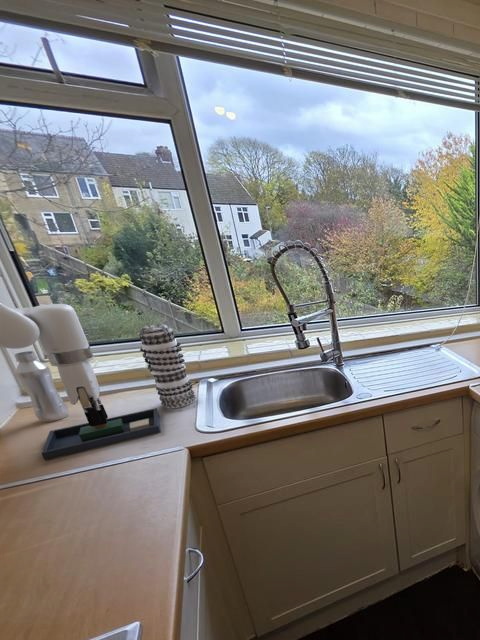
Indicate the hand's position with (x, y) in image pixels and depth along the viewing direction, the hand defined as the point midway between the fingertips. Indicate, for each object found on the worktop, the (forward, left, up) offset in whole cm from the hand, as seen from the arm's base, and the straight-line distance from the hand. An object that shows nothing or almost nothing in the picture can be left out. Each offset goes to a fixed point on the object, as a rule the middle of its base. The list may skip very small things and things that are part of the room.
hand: (99, 421), depth 106 cm
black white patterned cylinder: (+17, +12, -5) cm, 21 cm away
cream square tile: (+7, 0, -4) cm, 8 cm away
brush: (0, 0, -4) cm, 4 cm away
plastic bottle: (-11, +22, -5) cm, 25 cm away
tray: (+1, 0, -5) cm, 5 cm away
